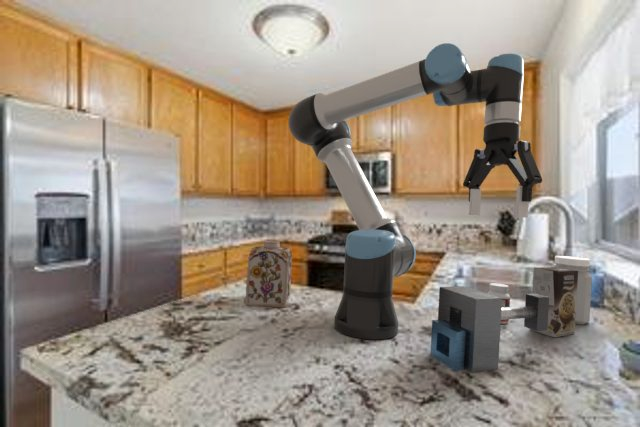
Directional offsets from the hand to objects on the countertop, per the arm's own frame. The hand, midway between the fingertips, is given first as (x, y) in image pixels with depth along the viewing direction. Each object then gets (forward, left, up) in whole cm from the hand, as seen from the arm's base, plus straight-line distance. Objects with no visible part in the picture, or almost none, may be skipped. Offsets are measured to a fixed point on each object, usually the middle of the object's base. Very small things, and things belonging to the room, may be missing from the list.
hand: (496, 216), depth 82 cm
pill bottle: (+5, +16, -29) cm, 33 cm away
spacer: (-11, -18, -29) cm, 36 cm away
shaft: (+1, -10, -23) cm, 26 cm away
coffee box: (+17, +12, -29) cm, 35 cm away
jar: (+26, +27, -29) cm, 47 cm away
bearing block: (-7, -16, -28) cm, 33 cm away
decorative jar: (-59, +6, -29) cm, 66 cm away
